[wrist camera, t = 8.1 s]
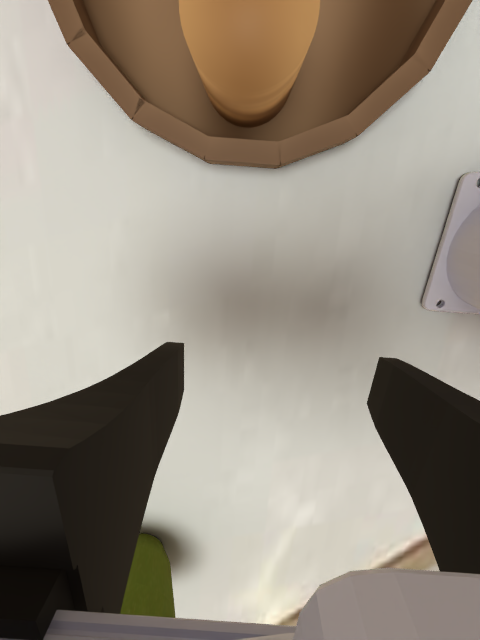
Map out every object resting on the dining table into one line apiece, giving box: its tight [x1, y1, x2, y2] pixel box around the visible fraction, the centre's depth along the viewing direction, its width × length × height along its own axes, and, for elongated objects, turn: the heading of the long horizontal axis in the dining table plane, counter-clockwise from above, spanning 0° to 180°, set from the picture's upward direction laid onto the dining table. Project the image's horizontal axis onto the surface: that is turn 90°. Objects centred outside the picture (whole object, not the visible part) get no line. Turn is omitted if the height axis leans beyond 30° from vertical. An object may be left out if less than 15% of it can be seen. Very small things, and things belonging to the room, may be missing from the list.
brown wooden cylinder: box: [179, 0, 320, 128], centre depth 12 cm, size 4×4×6 cm
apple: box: [120, 533, 175, 618], centre depth 25 cm, size 9×8×12 cm
